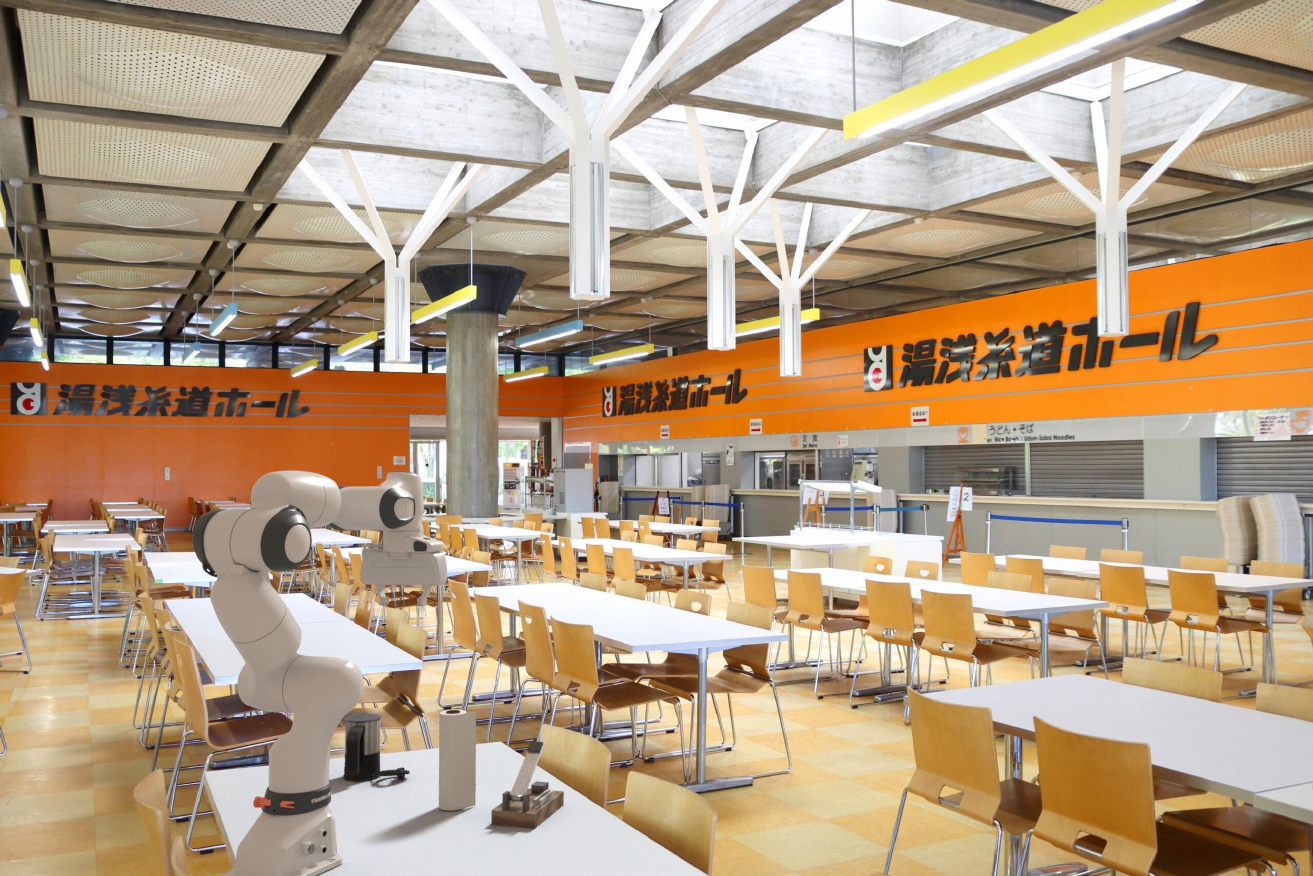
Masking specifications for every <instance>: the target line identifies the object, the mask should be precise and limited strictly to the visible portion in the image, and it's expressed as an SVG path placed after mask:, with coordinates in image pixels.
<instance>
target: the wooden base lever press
mask: <svg viewBox="0 0 1313 876" xmlns="http://www.w3.org/2000/svg"><path fill="white" fill-rule="evenodd" d="M530 786H531V788H528V789H527V791H526V793H525V794H524V795H523V802H521V801H509V799H508V798H509V795H510V793H511V791H509V790H506V791H504V792H502V802H501V803H500V804H498V805H496V806H495V807H494V808H493V809H491V823H490V825H494V826H502V827H503V826H504V827H513V826H516V827H517V828H524V827H525V828H529V829H536V828H537V826H538V827H539V826H540V825H541V824H543V823H544V822H545V821H546V820H547V819H548V818H549V817H551V816H552V815H553V814H555V813H556V812H557V811H558V810H560V809H561V808H562V807H563V806H564V805H565V804H564V801H565V794H564V792H565V791H564V790H563V791H562V790H555V789H549V788H550V787H549V782H548V781H538V780H537V781H535V782H534V783H532V784H531V785H530ZM516 827H515V828H516Z"/></svg>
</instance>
